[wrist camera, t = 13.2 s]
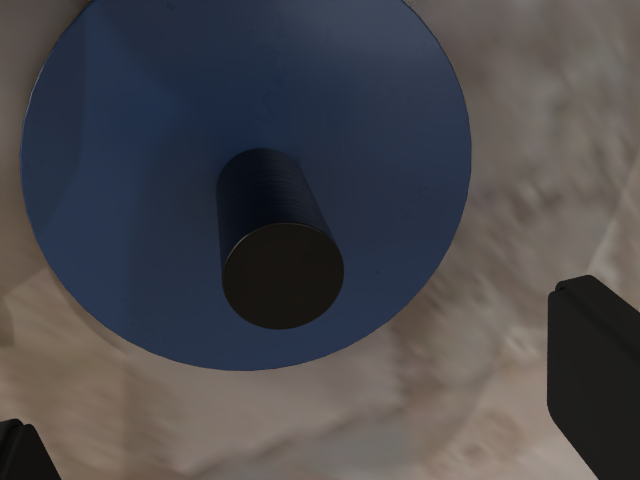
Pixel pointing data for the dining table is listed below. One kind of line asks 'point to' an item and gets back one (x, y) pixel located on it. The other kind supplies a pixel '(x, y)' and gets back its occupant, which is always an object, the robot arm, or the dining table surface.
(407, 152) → the lid
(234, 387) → the dining table surface
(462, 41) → the dining table surface
